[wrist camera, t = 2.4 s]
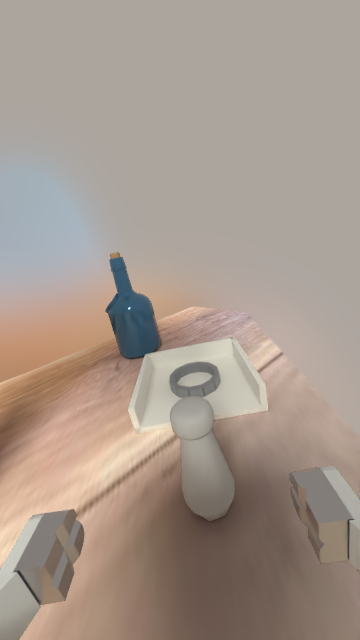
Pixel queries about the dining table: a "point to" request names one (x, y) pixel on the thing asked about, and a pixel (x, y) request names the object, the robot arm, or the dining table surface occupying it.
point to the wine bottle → (131, 315)
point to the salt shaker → (202, 459)
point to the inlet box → (196, 383)
